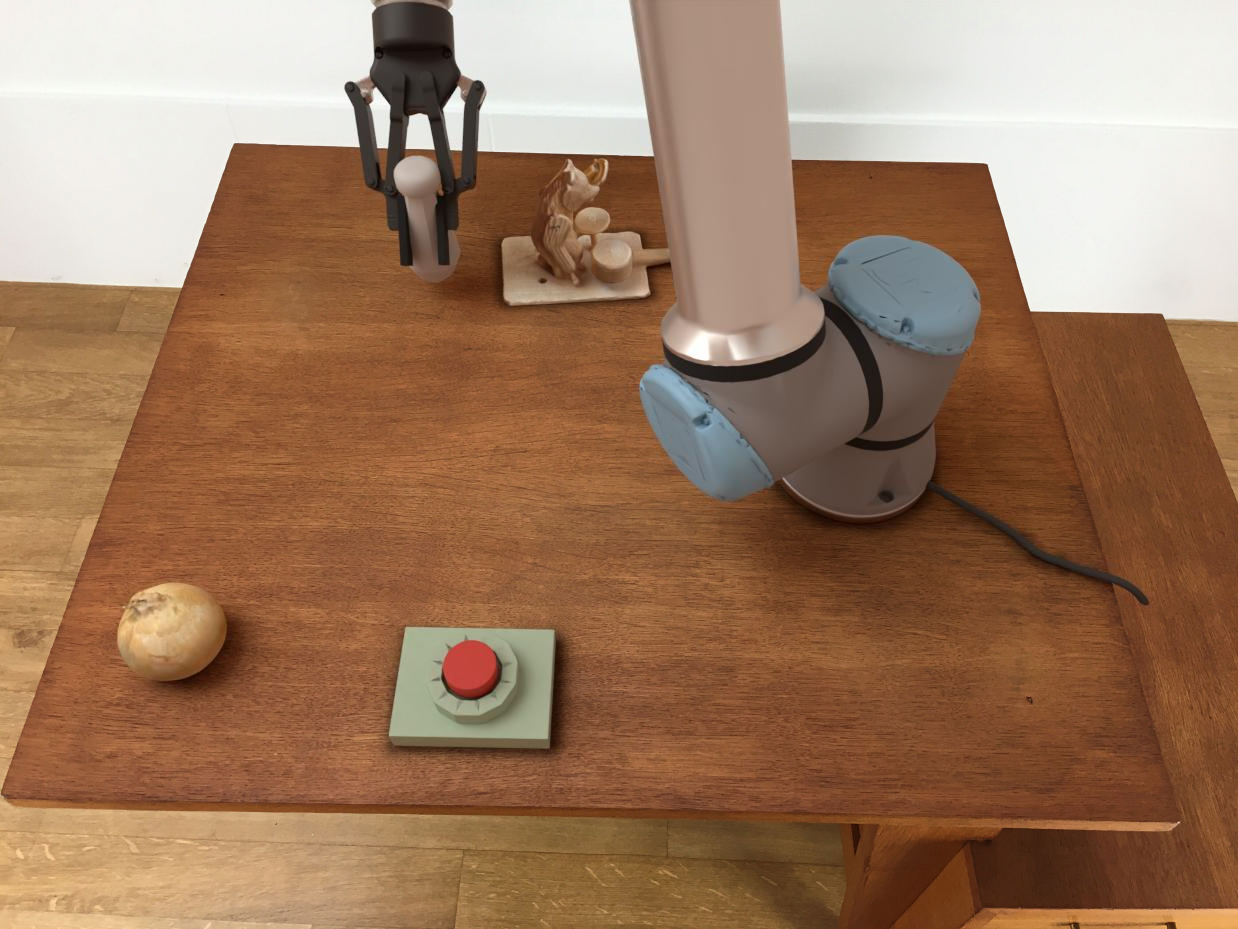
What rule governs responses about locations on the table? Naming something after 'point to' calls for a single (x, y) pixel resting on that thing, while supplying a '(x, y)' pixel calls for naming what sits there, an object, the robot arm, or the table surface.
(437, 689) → the switch base
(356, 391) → the table surface
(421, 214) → the salt shaker
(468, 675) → the switch
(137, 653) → the onion
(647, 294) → the wooden toy
